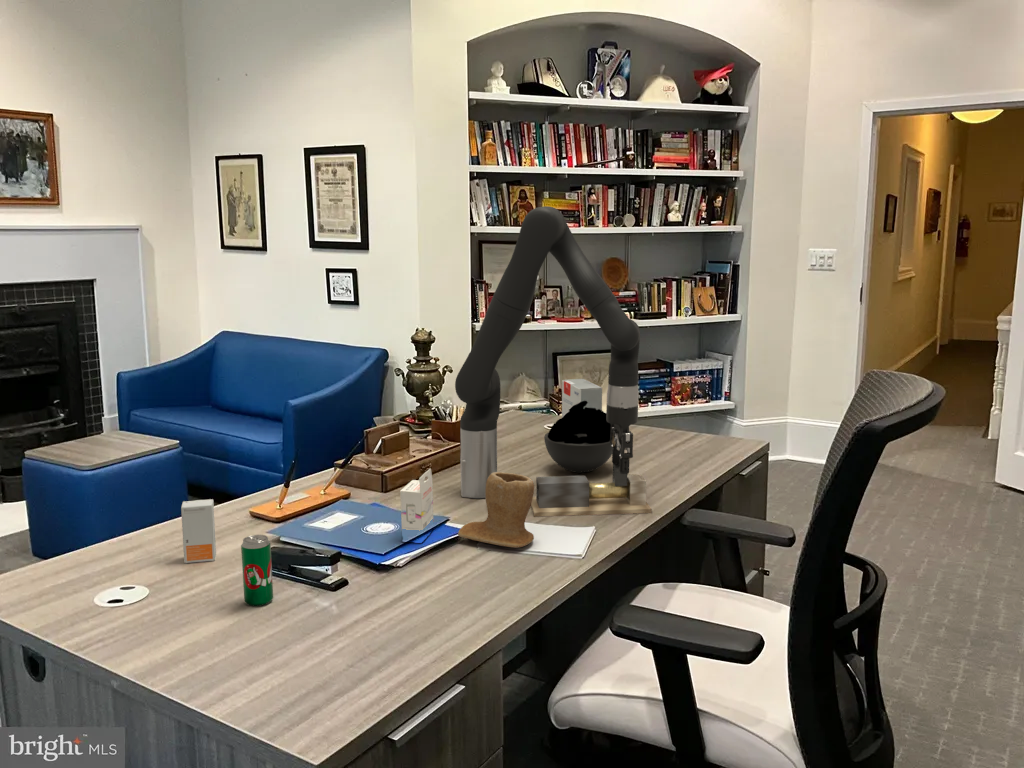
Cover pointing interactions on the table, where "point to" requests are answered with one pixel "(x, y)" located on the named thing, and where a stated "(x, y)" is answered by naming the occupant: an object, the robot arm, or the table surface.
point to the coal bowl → (580, 439)
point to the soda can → (257, 570)
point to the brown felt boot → (504, 512)
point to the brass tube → (611, 486)
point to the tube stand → (585, 497)
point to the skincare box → (198, 531)
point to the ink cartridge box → (417, 503)
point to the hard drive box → (580, 394)
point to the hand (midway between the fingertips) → (620, 468)
